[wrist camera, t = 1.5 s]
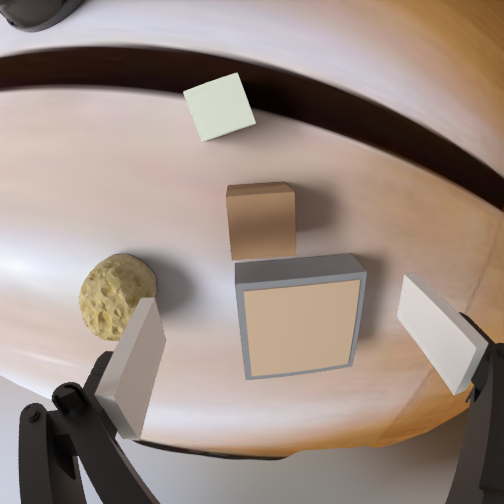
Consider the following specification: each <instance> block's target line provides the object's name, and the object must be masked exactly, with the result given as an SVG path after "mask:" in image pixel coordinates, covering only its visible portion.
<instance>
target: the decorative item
mask: <svg viewBox="0 0 504 504" xmlns="http://www.w3.org/2000/svg"><path fill="white" fill-rule="evenodd" d="M156 285H157V280H156V277H155V275H154V274H153V272H152V271H151V270H150V269H149V268H148V266H147V265H145V264H144V263H143V262H141V261H140V260H138V259H137V258H135V257H133V256H131V255H129V254H117V255H116V254H115V255H112V256H110V257H108V258H107V259H105V260H104V261H102V262H100V263H99V264H98V265H97V266H96V267H95V268H94V269H93V270H92V271H91V272H90V273H89V275H88V277H87V278H86V279H85V281H84V282H83V285H82V287H81V290H80V295H79V304H80V310H81V313H82V317H83V320H84V321H85V324H86V326H87V327H88V328H89V329H90V331H92V333H93V334H95V335H96V336H98V337H99V338H101V339H103V340H111V341H119V340H120V338H121V336H122V334H123V332H124V330H125V328H126V326H127V324H128V322H129V320H130V318H131V316H132V314H133V312H134V310H135V308H136V306H137V305H138V303H139V301H140V299H141V298H152V297H156V294H157V289H156ZM155 300H156V299H155Z"/></svg>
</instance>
